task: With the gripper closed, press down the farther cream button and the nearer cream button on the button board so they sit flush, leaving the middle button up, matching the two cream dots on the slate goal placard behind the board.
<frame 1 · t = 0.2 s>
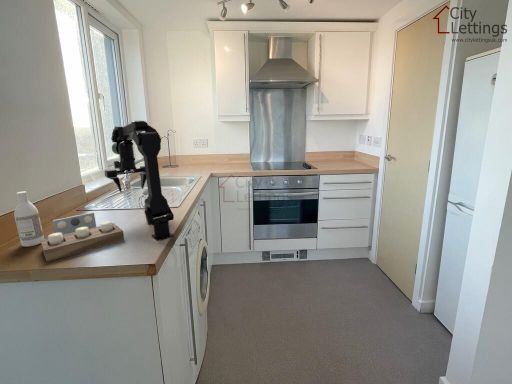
hand: (131, 190, 124), 14 cm above the counter, tool pointing down, fingers open, 9 cm apart
button middle: (82, 233, 101), point 4 cm above the counter, slide at 0.0 cm
button 1: (56, 240, 96), point 5 cm above the counter, slide at 0.0 cm
button 2: (106, 228, 106), point 5 cm above the counter, slide at 0.0 cm
bath foam: (33, 243, 105), on the counter
french press: (153, 221, 126), on the counter
board: (84, 245, 102), on the counter
goal placard: (77, 235, 112), on the counter
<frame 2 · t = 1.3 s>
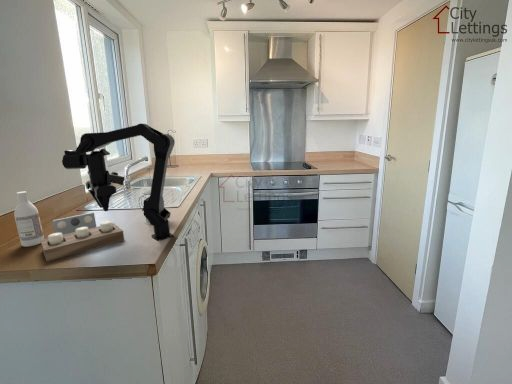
hand: (103, 209, 104), 12 cm above the counter, tool pointing down, fingers open, 7 cm apart
nothing on the counter moved.
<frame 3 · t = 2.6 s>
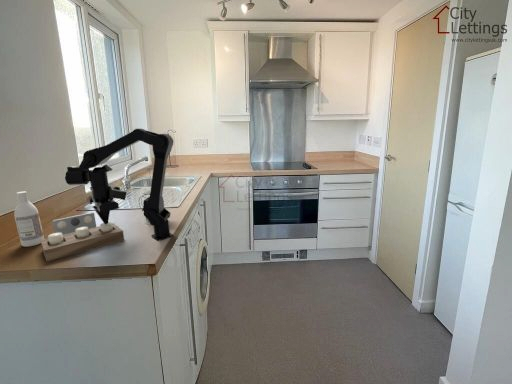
hand: (106, 223, 105), 6 cm above the counter, tool pointing down, fingers closed, pressing on button 2
button 2: (106, 228, 106), point 4 cm above the counter, slide at 0.3 cm, touching gripper
everything else where it was.
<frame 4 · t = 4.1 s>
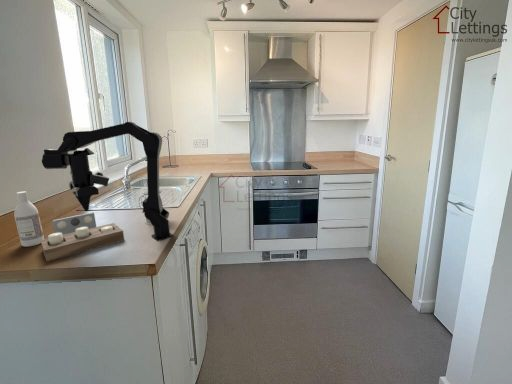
hand: (86, 210, 101), 13 cm above the counter, tool pointing down, fingers closed
button 2: (107, 232, 106), point 3 cm above the counter, slide at 1.9 cm
everything else where it was.
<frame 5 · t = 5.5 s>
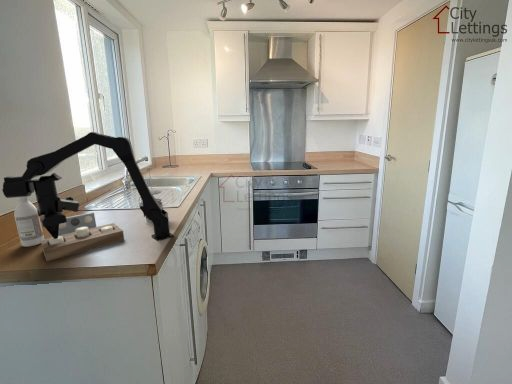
hand: (56, 238, 95), 5 cm above the counter, tool pointing down, fingers closed, pressing on button 1
button 1: (57, 243, 96), point 3 cm above the counter, slide at 1.4 cm, touching gripper
everything else where it was.
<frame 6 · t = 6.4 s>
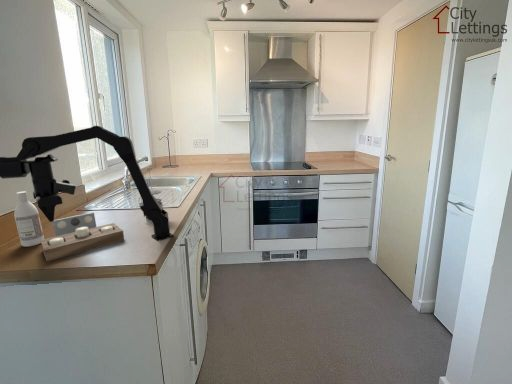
hand: (51, 221, 94), 11 cm above the counter, tool pointing down, fingers closed
button 1: (57, 245, 96), point 3 cm above the counter, slide at 1.9 cm
everything else where it was.
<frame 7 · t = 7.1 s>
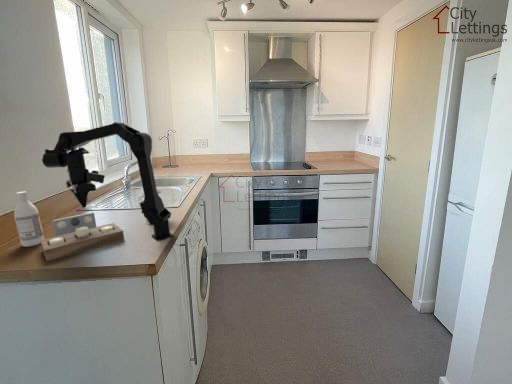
hand: (84, 207, 106), 13 cm above the counter, tool pointing down, fingers closed
nothing on the counter moved.
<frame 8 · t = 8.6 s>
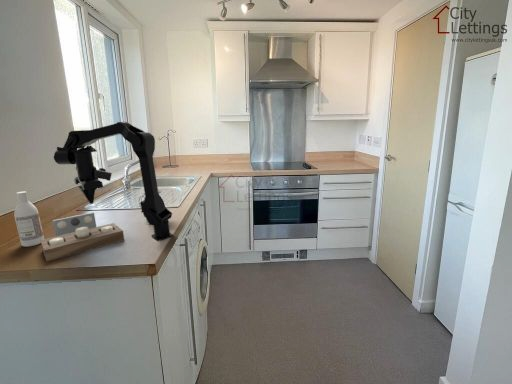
hand: (91, 203, 109), 13 cm above the counter, tool pointing down, fingers closed
nothing on the counter moved.
at the end: button 2 slide at 1.9 cm; button 1 slide at 1.9 cm; button middle slide at 0.0 cm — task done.
